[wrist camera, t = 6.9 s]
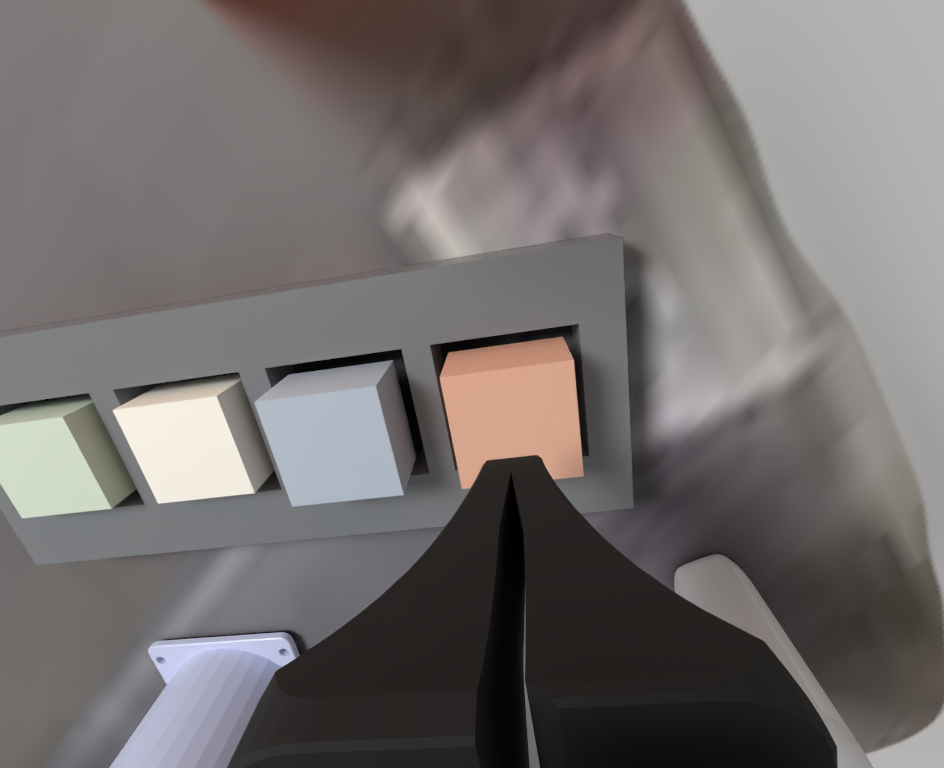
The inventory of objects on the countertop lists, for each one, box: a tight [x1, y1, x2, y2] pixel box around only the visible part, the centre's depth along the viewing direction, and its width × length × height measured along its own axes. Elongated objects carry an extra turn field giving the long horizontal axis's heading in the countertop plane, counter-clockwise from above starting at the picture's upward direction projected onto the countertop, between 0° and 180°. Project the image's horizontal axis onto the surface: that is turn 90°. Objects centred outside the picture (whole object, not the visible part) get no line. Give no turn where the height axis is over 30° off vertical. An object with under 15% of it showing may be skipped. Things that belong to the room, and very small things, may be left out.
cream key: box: [113, 373, 274, 504], centre depth 18 cm, size 4×4×2 cm
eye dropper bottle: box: [674, 554, 873, 768], centre depth 16 cm, size 4×6×12 cm
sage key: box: [0, 394, 137, 518], centre depth 18 cm, size 4×4×2 cm
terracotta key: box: [440, 337, 584, 489], centre depth 15 cm, size 4×4×2 cm
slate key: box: [254, 360, 416, 507], centre depth 16 cm, size 4×4×2 cm
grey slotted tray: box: [0, 233, 634, 565], centre depth 18 cm, size 10×26×2 cm, turn 99°
